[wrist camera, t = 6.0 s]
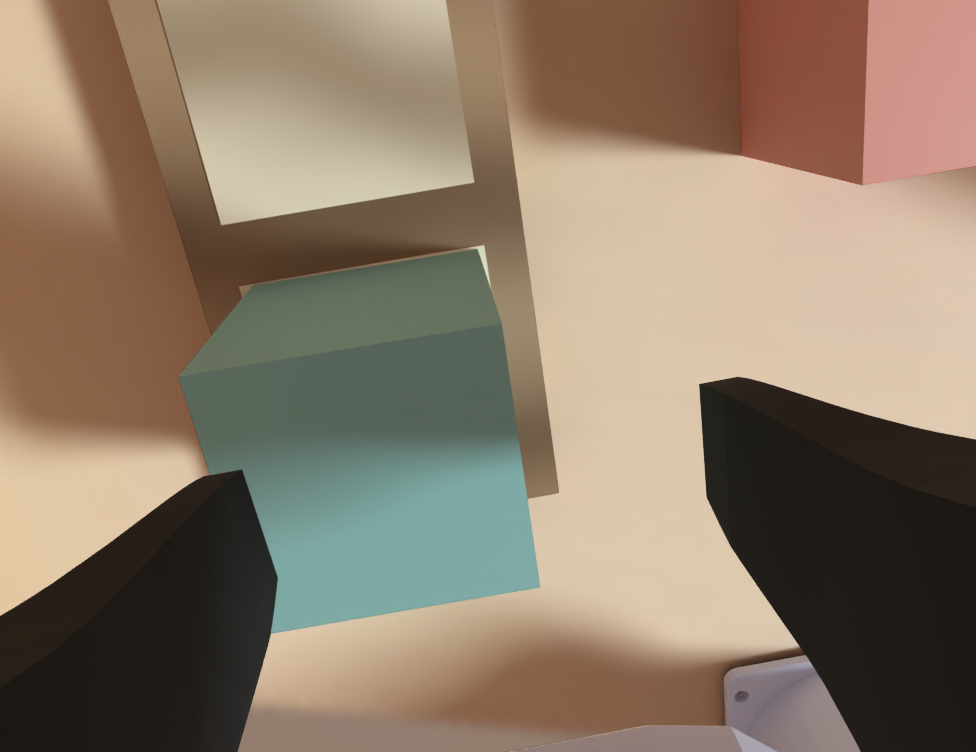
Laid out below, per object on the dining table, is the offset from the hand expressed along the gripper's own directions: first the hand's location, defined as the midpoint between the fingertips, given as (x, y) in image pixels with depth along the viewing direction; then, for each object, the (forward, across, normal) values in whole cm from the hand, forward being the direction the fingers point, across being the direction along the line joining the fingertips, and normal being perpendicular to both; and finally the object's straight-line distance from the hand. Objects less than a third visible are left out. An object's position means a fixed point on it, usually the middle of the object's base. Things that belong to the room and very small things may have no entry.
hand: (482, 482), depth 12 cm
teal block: (+8, +2, +1) cm, 8 cm away
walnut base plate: (+10, +2, -3) cm, 10 cm away
